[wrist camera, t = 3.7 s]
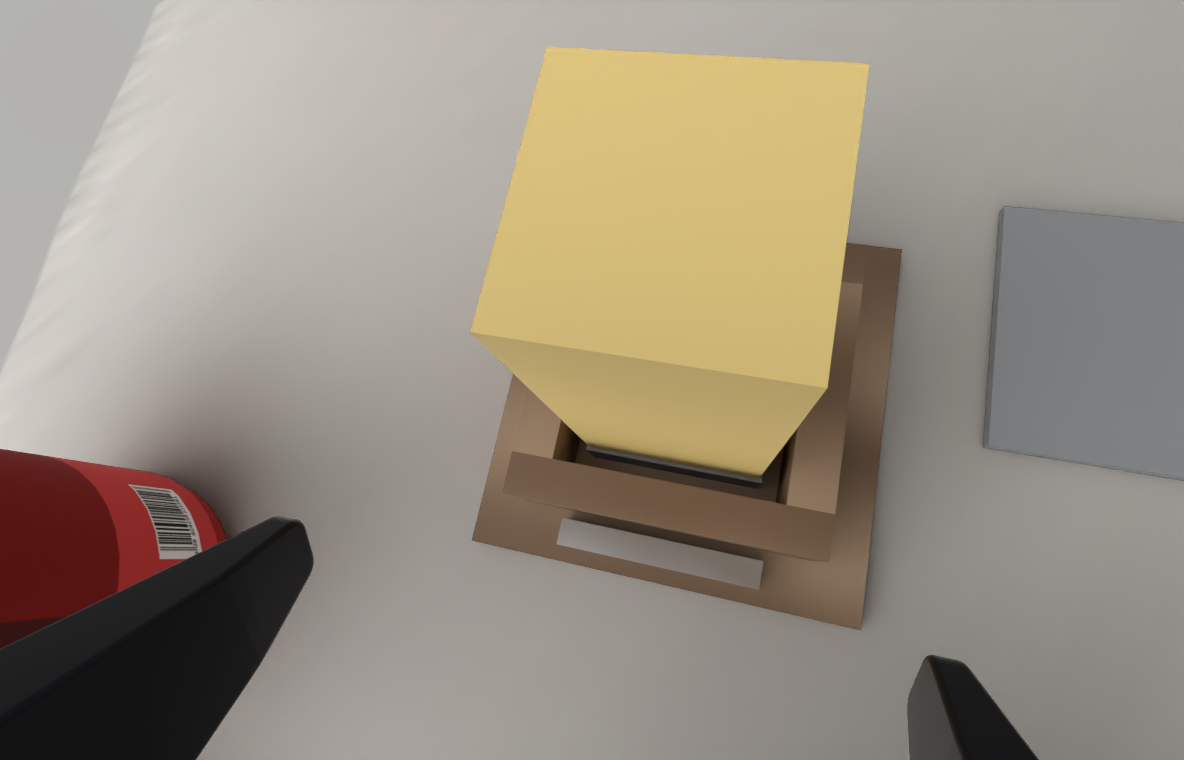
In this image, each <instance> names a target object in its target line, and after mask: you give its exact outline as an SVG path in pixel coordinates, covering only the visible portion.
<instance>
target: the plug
mask: <svg viewBox="0 0 1184 760" xmlns="http://www.w3.org/2000/svg"><path fill="white" fill-rule="evenodd" d="M868 72H869V63H850V62H831V61H812V60H792V59H773V58H754V57H735V56H716V55H697V54H678V53H658V52H639V51H620V50H601V49H582V48H563V47H547V48H546V52H545V56H544V59H543V63H542V67H541V70H540V74H539V78H538V82H537V85H536V89H535V93H534V96H533V100H532V104H531V108H530V111H529V115H528V119H527V123H526V126H525V130H524V134H523V137H522V141H521V145H520V149H519V152H518V156H517V160H516V163H515V167H514V171H513V175H512V178H511V182H510V186H509V189H508V193H507V197H506V201H505V204H504V208H503V212H502V215H501V219H500V223H499V227H498V230H497V234H496V238H495V241H494V245H493V249H492V253H491V256H490V260H489V264H488V268H487V271H486V275H485V279H484V282H483V286H482V290H481V294H480V297H479V301H478V305H477V308H476V312H475V316H474V320H473V323H472V327H471V331H470V333H472V334H473V335H474V336H475V337H476V338H477V339H478V340H479V341H480V342H481V343H482V344H483V345H484V346H485V347H486V348H487V349H488V350H489V351H490V352H491V353H492V354H493V355H494V356H495V357H497V358H498V359H499V360H500V361H501V362H502V363H503V364H504V365H505V366H506V367H507V368H508V369H509V370H510V371H511V372H512V373H513V374H514V375H515V376H516V377H517V378H518V379H519V380H520V381H522V382H523V383H524V384H525V385H526V386H527V387H528V388H529V389H530V390H531V391H532V392H533V393H534V394H535V395H536V396H537V397H538V398H539V399H540V400H541V401H542V402H543V403H544V404H545V405H547V406H548V407H549V408H550V409H551V410H552V411H553V412H554V413H555V414H556V415H557V416H558V417H559V418H560V419H561V420H562V421H563V422H564V423H565V424H566V425H567V426H568V427H569V428H570V429H572V430H573V431H574V432H575V433H576V434H577V435H578V436H579V437H580V438H581V439H582V440H583V441H584V442H585V443H586V444H587V447H586V450H587V451H588V452H589V453H590V454H591V455H592V456H593V457H595V458H600V459H605V460H611V461H616V462H621V463H626V464H631V465H636V466H642V467H647V468H652V469H657V470H662V471H668V472H673V473H678V474H683V475H688V476H693V477H699V478H704V479H709V480H714V481H719V482H725V483H730V484H735V485H740V486H745V487H750V488H756V489H757V488H758V487H759V486H760V485H761V484H762V478H763V473H764V471H765V470H766V469H767V467H768V466H769V465H770V463H771V462H772V461H773V460H774V458H775V457H776V456H777V454H778V453H779V452H780V450H781V449H782V448H783V446H784V445H785V444H786V442H787V441H788V440H789V438H790V437H791V436H792V434H793V433H794V432H795V430H796V429H797V428H798V426H799V425H800V424H801V422H802V421H803V420H804V418H805V417H806V416H807V414H808V413H809V412H810V411H811V409H812V408H813V407H814V405H815V404H816V403H817V401H818V400H819V399H820V397H821V396H822V395H823V393H824V392H825V391H826V389H827V388H828V380H829V372H830V365H831V357H832V349H833V342H834V334H835V326H836V318H837V311H838V303H839V295H840V288H841V280H842V272H843V265H844V257H845V249H846V241H847V234H848V226H849V218H850V211H851V203H852V195H853V188H854V180H855V172H856V164H857V157H858V149H859V141H860V134H861V126H862V118H863V111H864V103H865V95H866V87H867V80H868Z"/></svg>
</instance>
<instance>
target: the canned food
mask: <svg viewBox="0 0 1184 760" xmlns="http://www.w3.org/2000/svg"><path fill="white" fill-rule="evenodd" d="M224 540H227V539H226V536H225V533H224V531H223V528H222V526H221V524H220V521H219V519H218V518H217V516H216V515H215V513H214V512H213V510H212V509H211V508H210V506H209V505H208V504H207V503H206V502H205V501H204V500H203V499H202V498H201V497H199V496H198V495H197V494H196V493H194V492H193V491H191V490H189V489H188V488H186V487H184V486H182V485H181V484H179V483H177V482H175V481H173V480H172V479H170V478H168V477H165V476H162V475H158V474H155V473H151V472H146V471H139V470H133V469H126V468H120V467H113V466H107V465H101V464H94V463H88V462H81V461H75V460H68V459H62V458H55V457H49V456H42V455H36V454H29V453H23V452H17V451H10V450H4V449H0V649H2V648H3V647H5V646H7V645H10V644H12V643H14V642H16V641H18V640H20V639H22V638H24V637H26V636H28V635H30V634H32V633H34V632H36V631H38V630H41V629H43V628H45V627H47V626H49V625H51V624H53V623H55V622H57V621H59V620H61V619H63V618H65V617H67V616H70V615H72V614H74V613H76V612H78V611H80V610H82V609H84V608H86V607H88V606H90V605H92V604H94V603H96V602H98V601H101V600H103V599H105V598H107V597H109V596H111V595H113V594H115V593H117V592H119V591H121V590H123V589H125V588H127V587H129V586H132V585H134V584H136V583H138V582H140V581H142V580H144V579H146V578H148V577H150V576H152V575H154V574H156V573H158V572H160V571H163V570H165V569H167V568H169V567H171V566H173V565H175V564H177V563H179V562H181V561H183V560H185V559H187V558H189V557H191V556H194V555H196V554H198V553H200V552H202V551H204V550H206V549H208V548H210V547H212V546H214V545H216V544H218V543H220V542H222V541H224Z"/></svg>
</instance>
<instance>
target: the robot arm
mask: <svg viewBox="0 0 1184 760" xmlns="http://www.w3.org/2000/svg"><path fill="white" fill-rule="evenodd" d="M313 563H314V558H313V554H312V550H311V547H310V543H309V540H308V537H307V533H306V530H305V527H304V525H303V523H302V522H301V521H299V520H295V519H291V518H286V517H280V516H277V517H273V518H270V519H268V520H266V521H264V522H262V523H260V524H258V525H255V526H253V527H251V528H249V529H247V530H245V531H243V532H241V533H239V534H237V535H235V536H233V537H231V538H229V539H227V540H224V541H222V542H220V543H218V544H216V545H214V546H212V547H210V548H208V549H206V550H204V551H202V552H200V553H198V554H196V555H194V556H191V557H189V558H187V559H185V560H183V561H181V562H179V563H177V564H175V565H173V566H171V567H169V568H167V569H165V570H163V571H160V572H158V573H156V574H154V575H152V576H150V577H148V578H146V579H144V580H142V581H140V582H138V583H136V584H134V585H132V586H129V587H127V588H125V589H123V590H121V591H119V592H117V593H115V594H113V595H111V596H109V597H107V598H105V599H103V600H101V601H98V602H96V603H94V604H92V605H90V606H88V607H86V608H84V609H82V610H80V611H78V612H76V613H74V614H72V615H70V616H67V617H65V618H63V619H61V620H59V621H57V622H55V623H53V624H51V625H49V626H47V627H45V628H43V629H41V630H38V631H36V632H34V633H32V634H30V635H28V636H26V637H24V638H22V639H20V640H18V641H16V642H14V643H12V644H10V645H7V646H5V647H3V648H2V649H0V760H196V759H197V758H198V756H199V755H200V753H201V752H202V750H203V749H204V747H205V746H206V744H207V743H208V741H209V740H210V738H211V737H212V735H213V734H214V732H215V731H216V729H217V728H218V726H219V725H220V724H221V722H222V721H223V719H224V718H225V716H226V715H227V713H228V712H229V710H230V709H231V707H232V706H233V704H234V703H235V701H236V700H237V698H238V697H239V695H240V694H241V692H242V691H243V689H244V688H245V687H246V685H247V684H248V682H249V681H250V679H251V678H252V676H253V675H254V673H255V671H256V670H257V668H258V667H259V665H260V664H261V662H262V660H263V659H264V657H265V655H266V653H267V652H268V650H269V648H270V647H271V645H272V643H273V641H274V639H275V637H276V636H277V634H278V632H279V630H280V628H281V627H282V625H283V623H284V621H285V619H286V617H287V616H288V614H289V612H290V610H291V608H292V607H293V605H294V603H295V601H296V599H297V597H298V596H299V594H300V592H301V590H302V588H303V587H304V585H305V583H306V581H307V579H308V577H309V576H310V573H311V571H312V568H313ZM907 716H908V733H909V750H910V760H1039V759H1038V758H1037V757H1036V755H1035V754H1034V753H1033V751H1032V750H1031V749H1030V747H1029V746H1028V745H1027V743H1026V742H1025V741H1024V740H1023V738H1022V737H1021V736H1020V734H1019V733H1018V732H1017V730H1016V729H1015V728H1014V726H1013V725H1012V724H1011V723H1010V721H1009V720H1008V719H1007V717H1006V716H1005V715H1004V713H1003V712H1002V711H1001V709H1000V708H999V707H998V705H997V704H996V703H995V702H994V700H993V699H992V698H991V696H990V695H989V694H988V692H987V691H986V690H985V688H984V687H983V686H982V684H981V683H980V682H979V681H978V679H977V678H976V677H975V675H974V674H973V673H972V671H971V670H970V669H969V668H968V667H967V666H966V665H965V664H964V663H962V662H961V661H958V660H954V659H949V658H945V657H940V656H935V655H929V656H927V657H926V658H925V659H924V661H923V663H922V665H921V667H920V670H919V672H918V674H917V677H916V679H915V681H914V684H913V686H912V688H911V691H910V693H909V697H908V704H907Z"/></svg>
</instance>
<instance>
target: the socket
mask: <svg viewBox="0 0 1184 760" xmlns="http://www.w3.org/2000/svg"><path fill="white" fill-rule="evenodd" d="M901 253H902V249H894V248H884V247H875V246H868V245H859V244H850V243H846V249H845V257H844V265H843V272H842V280H841V288H840V295H839V303H838V311H837V318H836V326H835V334H834V342H833V349H832V357H831V365H830V372H829V380H828V388H827V389H826V391H825V392H824V393H823V395H822V396H821V397H820V399H819V400H818V401H817V403H816V404H815V405H814V407H813V408H812V409H811V411H810V412H809V413H808V414H807V416H806V417H805V418H804V420H803V421H802V422H801V424H800V425H799V426H798V428H797V429H796V430H795V432H794V433H793V434H792V436H791V437H790V438H789V440H788V441H787V442H786V444H785V445H784V446H783V448H782V449H781V450H780V452H779V453H778V454H777V456H776V457H775V458H774V460H773V461H772V462H771V463H770V465H769V466H768V467H767V469H766V470H765V471H764V473H763V478H762V484H761V485H760V486H759V487H758V488H757V489H756V488H750V487H745V486H740V485H735V484H730V483H725V482H719V481H714V480H709V479H704V478H699V477H693V476H688V475H683V474H678V473H673V472H668V471H662V470H657V469H652V468H647V467H642V466H636V465H631V464H626V463H621V462H616V461H611V460H605V459H600V458H595V457H593V456H592V455H591V454H590V453H589V452H588V451H587V450H586V447H587V444H586V443H585V442H584V441H583V440H582V439H581V438H580V437H579V436H578V435H577V434H576V433H575V432H574V431H573V430H572V429H570V428H569V427H568V426H567V425H566V424H565V423H564V422H563V421H562V420H561V419H560V418H559V417H558V416H557V415H556V414H555V413H554V412H553V411H552V410H551V409H550V408H549V407H548V406H547V405H545V404H544V403H543V402H542V401H541V400H540V399H539V398H538V397H537V396H536V395H535V394H534V393H533V392H532V391H531V390H530V389H529V388H528V387H527V386H526V385H525V384H524V383H523V382H522V381H520V380H519V379H518V378H517V377H516V376H515V375H514V374H513V377H512V381H511V385H510V389H509V393H508V397H507V401H506V405H505V409H504V413H503V417H502V421H501V425H500V429H499V433H498V437H497V441H496V445H495V449H494V453H493V457H492V461H491V465H490V469H489V473H488V477H487V482H486V486H485V490H484V494H483V498H482V502H481V506H480V510H479V514H478V518H477V522H476V526H475V530H474V534H473V538H472V540H473V541H477V542H481V543H486V544H490V545H494V546H499V547H503V548H507V549H511V550H516V551H520V552H524V553H529V554H533V555H537V556H542V557H546V558H550V559H555V560H559V561H563V562H568V563H572V564H576V565H581V566H585V567H589V568H594V569H598V570H602V571H607V572H611V573H615V574H619V575H624V576H628V577H632V578H637V579H641V580H645V581H650V582H654V583H658V584H663V585H667V586H671V587H676V588H680V589H684V590H689V591H693V592H697V593H702V594H706V595H710V596H715V597H719V598H723V599H727V600H732V601H736V602H740V603H745V604H749V605H753V606H758V607H762V608H766V609H771V610H775V611H779V612H784V613H788V614H792V615H797V616H801V617H805V618H810V619H814V620H818V621H823V622H827V623H831V624H836V625H840V626H844V627H848V628H853V629H857V630H861V624H862V615H863V606H864V597H865V587H866V578H867V569H868V559H869V550H870V541H871V532H872V522H873V513H874V504H875V494H876V485H877V476H878V467H879V457H880V448H881V439H882V429H883V420H884V411H885V401H886V392H887V383H888V374H889V364H890V355H891V346H892V336H893V327H894V318H895V309H896V299H897V290H898V281H899V271H900V262H901Z"/></svg>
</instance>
